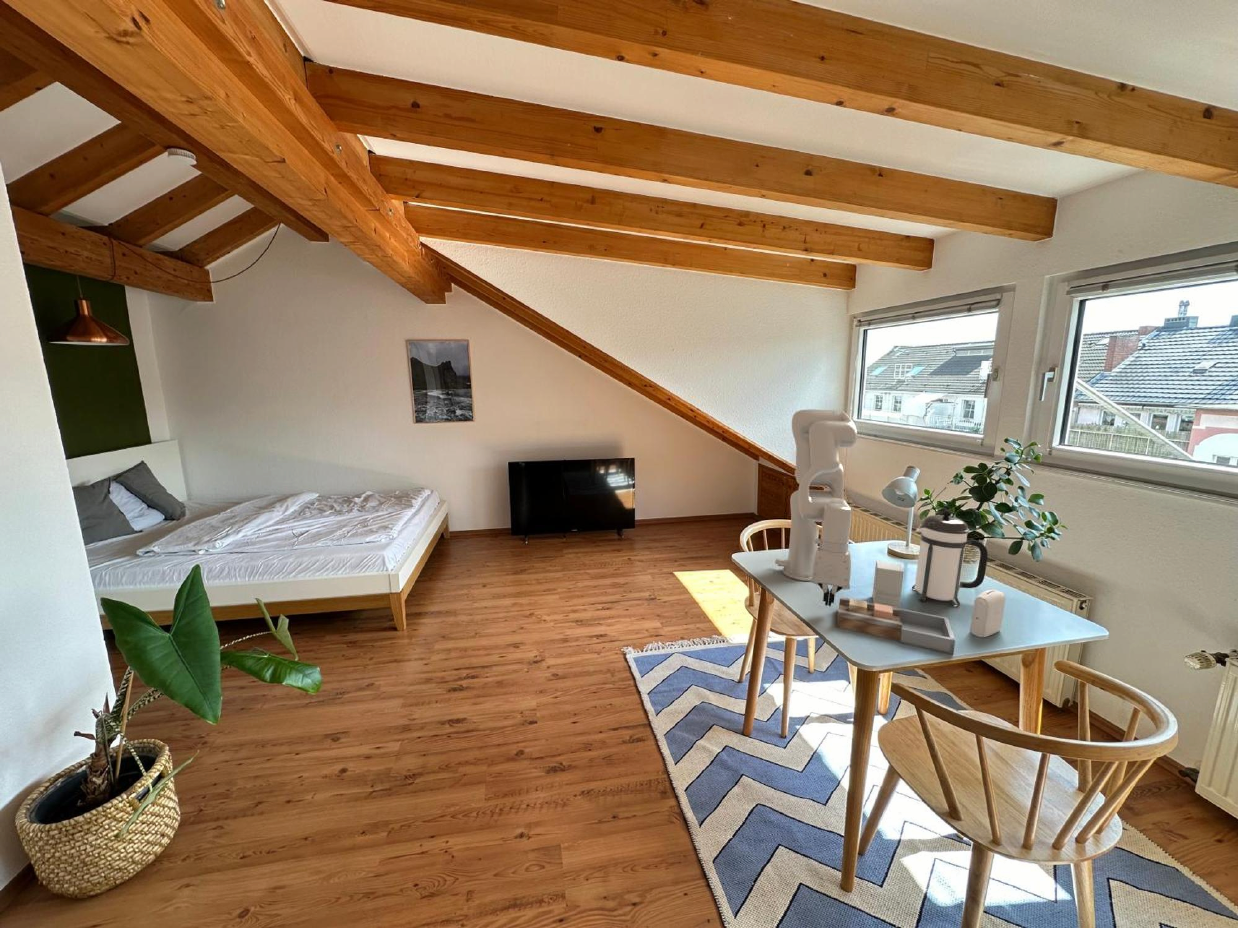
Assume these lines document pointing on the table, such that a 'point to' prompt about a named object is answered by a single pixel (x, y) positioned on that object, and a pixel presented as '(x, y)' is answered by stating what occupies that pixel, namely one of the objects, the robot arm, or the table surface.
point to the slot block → (869, 621)
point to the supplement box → (887, 584)
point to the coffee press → (945, 558)
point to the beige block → (858, 606)
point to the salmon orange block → (883, 611)
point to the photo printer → (987, 613)
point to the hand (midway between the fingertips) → (828, 604)
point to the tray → (926, 631)
